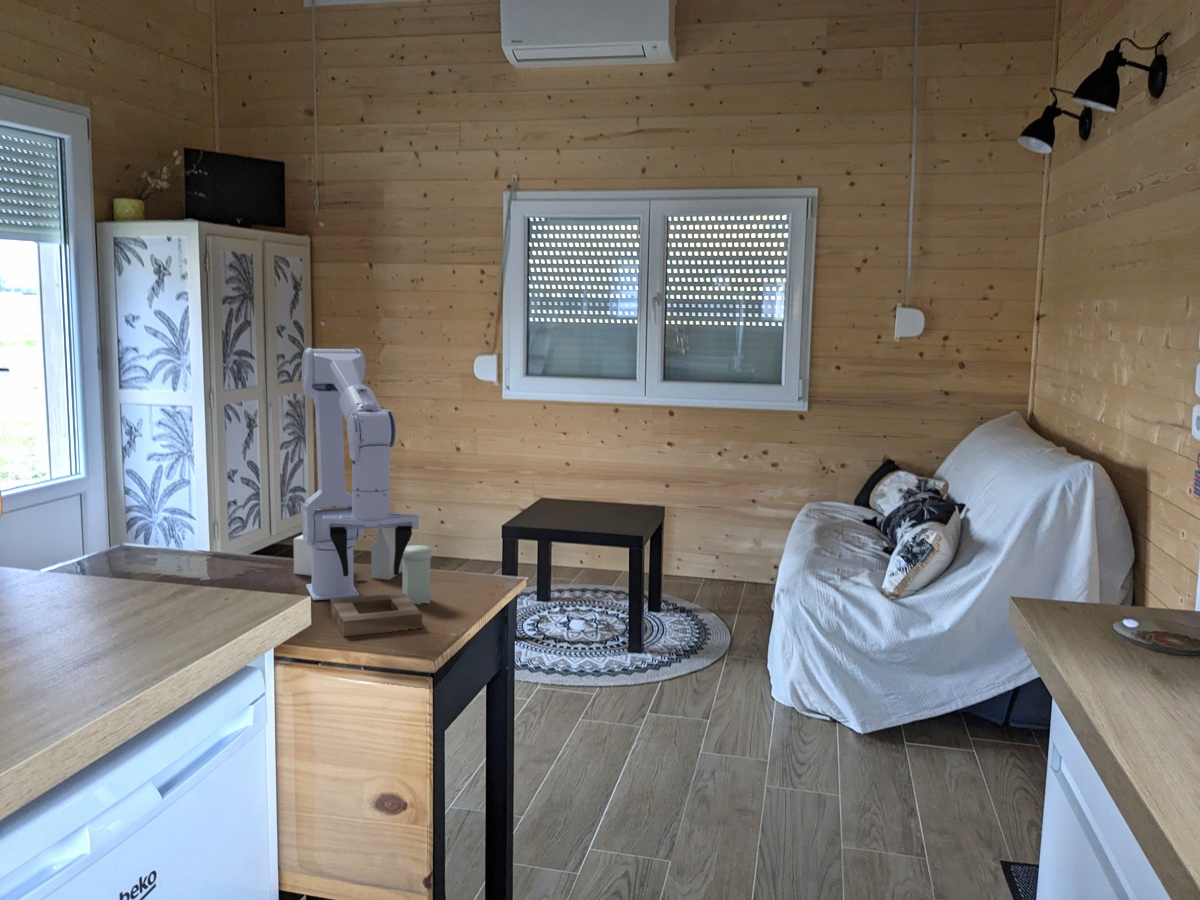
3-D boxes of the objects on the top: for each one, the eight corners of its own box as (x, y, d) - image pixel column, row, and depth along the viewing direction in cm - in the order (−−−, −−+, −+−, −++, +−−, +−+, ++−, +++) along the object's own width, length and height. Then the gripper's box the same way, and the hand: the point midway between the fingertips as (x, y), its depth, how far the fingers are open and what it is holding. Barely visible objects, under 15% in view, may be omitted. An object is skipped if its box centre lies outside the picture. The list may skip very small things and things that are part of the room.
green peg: (398, 598, 177) (398, 546, 176) (426, 595, 179) (427, 544, 178) (404, 606, 172) (405, 553, 171) (434, 603, 175) (434, 551, 173)
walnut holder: (330, 613, 167) (330, 599, 167) (404, 606, 172) (404, 592, 172) (343, 636, 156) (343, 621, 156) (421, 628, 161) (422, 613, 161)
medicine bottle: (327, 577, 189) (327, 515, 187) (293, 574, 190) (292, 513, 189) (344, 568, 196) (344, 508, 194) (311, 565, 197) (310, 506, 196)
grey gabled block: (403, 571, 196) (403, 521, 194) (389, 579, 189) (389, 528, 188) (385, 569, 196) (386, 519, 195) (371, 578, 190) (371, 526, 188)
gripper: (321, 493, 148) (321, 582, 150) (420, 493, 151) (419, 579, 153) (323, 485, 155) (324, 569, 157) (417, 484, 158) (417, 567, 160)
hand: (371, 573), depth 155 cm, fingers open, 7 cm apart
